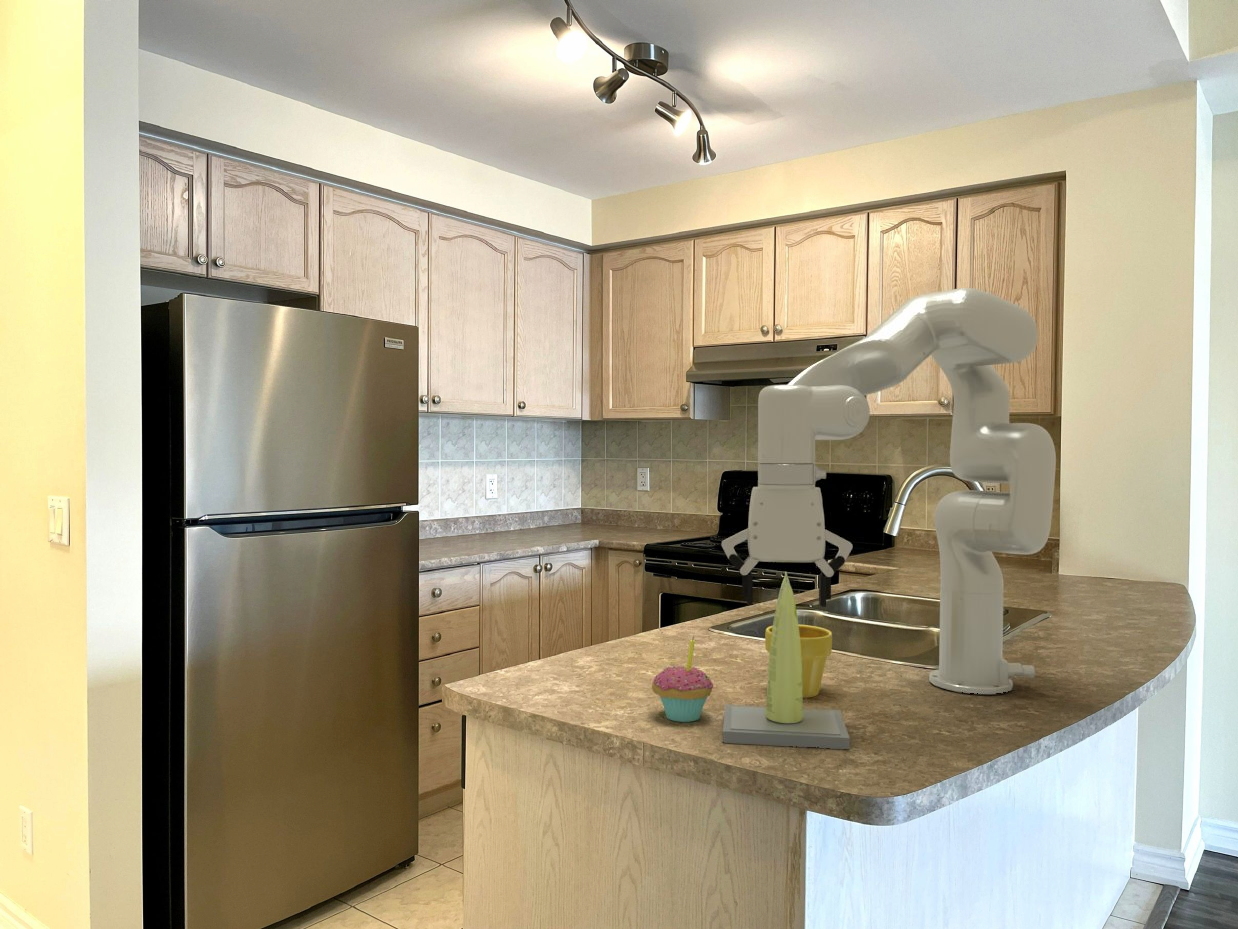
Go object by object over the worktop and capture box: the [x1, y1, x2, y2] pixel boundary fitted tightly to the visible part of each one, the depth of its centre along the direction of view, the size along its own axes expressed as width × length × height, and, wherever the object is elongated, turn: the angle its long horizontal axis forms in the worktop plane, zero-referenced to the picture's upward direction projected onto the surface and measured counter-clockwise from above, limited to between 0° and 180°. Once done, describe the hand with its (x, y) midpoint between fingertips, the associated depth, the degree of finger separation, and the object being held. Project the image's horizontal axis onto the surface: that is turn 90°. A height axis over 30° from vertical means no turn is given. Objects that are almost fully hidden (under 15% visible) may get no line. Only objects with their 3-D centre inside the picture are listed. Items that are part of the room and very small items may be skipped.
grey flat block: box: [722, 704, 851, 750], centre depth 118 cm, size 16×12×2 cm
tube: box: [765, 571, 804, 724], centre depth 118 cm, size 6×5×20 cm
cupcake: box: [651, 634, 714, 723], centre depth 124 cm, size 9×8×12 cm
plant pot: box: [764, 624, 833, 699], centre depth 137 cm, size 10×10×10 cm
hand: (785, 604), depth 118 cm, fingers open, 9 cm apart
